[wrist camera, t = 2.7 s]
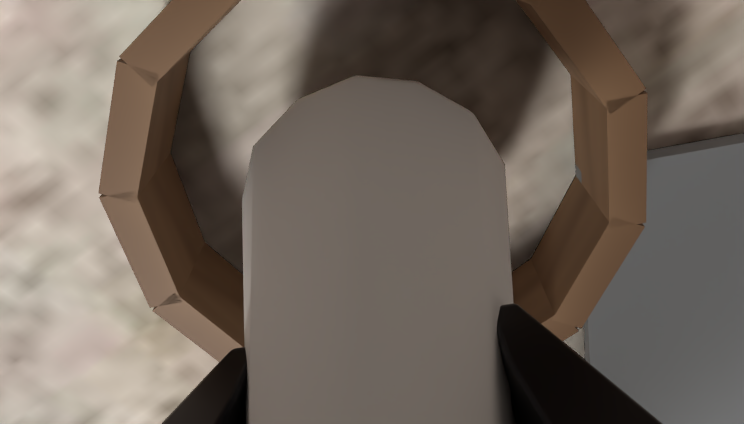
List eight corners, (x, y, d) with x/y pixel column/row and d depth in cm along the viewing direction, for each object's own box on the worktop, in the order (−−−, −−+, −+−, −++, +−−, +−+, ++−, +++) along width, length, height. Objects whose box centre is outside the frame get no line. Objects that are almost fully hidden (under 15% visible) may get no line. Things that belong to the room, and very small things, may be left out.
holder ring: (610, 307, 18) (644, 368, 16) (227, 369, 19) (208, 433, 17) (599, -147, 12) (649, -154, 10) (64, -25, 13) (5, -8, 11)
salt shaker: (213, 134, 15) (-270, 897, 4) (407, -2, 14) (594, 576, 2) (349, 293, 17) (307, 1071, 6) (528, 192, 16) (930, 973, 4)
